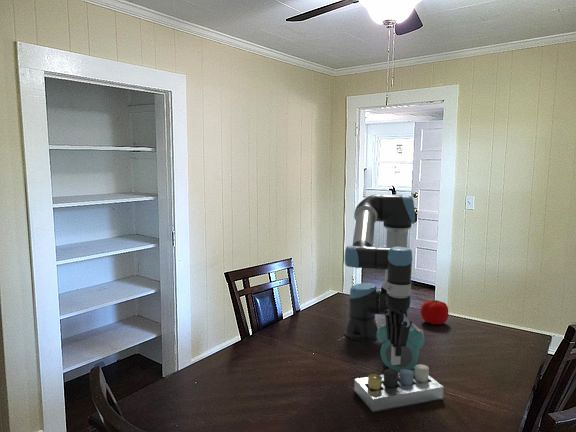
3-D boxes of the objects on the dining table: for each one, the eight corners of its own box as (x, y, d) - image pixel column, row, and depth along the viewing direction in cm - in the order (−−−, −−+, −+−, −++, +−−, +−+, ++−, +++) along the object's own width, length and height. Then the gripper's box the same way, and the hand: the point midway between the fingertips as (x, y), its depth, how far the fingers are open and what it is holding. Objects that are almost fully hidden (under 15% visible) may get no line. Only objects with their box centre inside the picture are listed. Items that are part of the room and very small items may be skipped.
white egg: (411, 381, 147) (412, 365, 147) (422, 379, 149) (423, 363, 148) (419, 388, 143) (420, 371, 142) (430, 386, 145) (431, 369, 144)
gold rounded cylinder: (365, 392, 142) (365, 375, 141) (376, 390, 143) (377, 373, 143) (371, 398, 138) (372, 381, 137) (383, 396, 139) (384, 379, 139)
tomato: (452, 328, 203) (453, 304, 202) (423, 327, 204) (425, 304, 202) (443, 318, 216) (444, 296, 214) (416, 318, 216) (417, 296, 214)
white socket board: (354, 391, 146) (354, 379, 145) (419, 380, 154) (420, 368, 153) (372, 412, 134) (373, 399, 133) (442, 399, 141) (443, 386, 141)
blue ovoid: (396, 386, 146) (397, 370, 145) (407, 384, 147) (408, 368, 146) (403, 393, 142) (404, 376, 141) (415, 391, 143) (416, 374, 142)
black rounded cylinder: (381, 386, 144) (381, 370, 143) (392, 385, 145) (393, 368, 144) (388, 393, 140) (388, 376, 139) (399, 391, 141) (400, 374, 140)
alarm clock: (423, 366, 165) (425, 316, 162) (422, 377, 156) (425, 325, 153) (377, 359, 170) (379, 310, 168) (374, 369, 161) (376, 319, 159)
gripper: (377, 290, 144) (375, 356, 147) (399, 302, 131) (396, 374, 134) (397, 288, 146) (394, 354, 149) (420, 299, 134) (416, 371, 137)
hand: (395, 363), depth 142 cm, fingers closed
